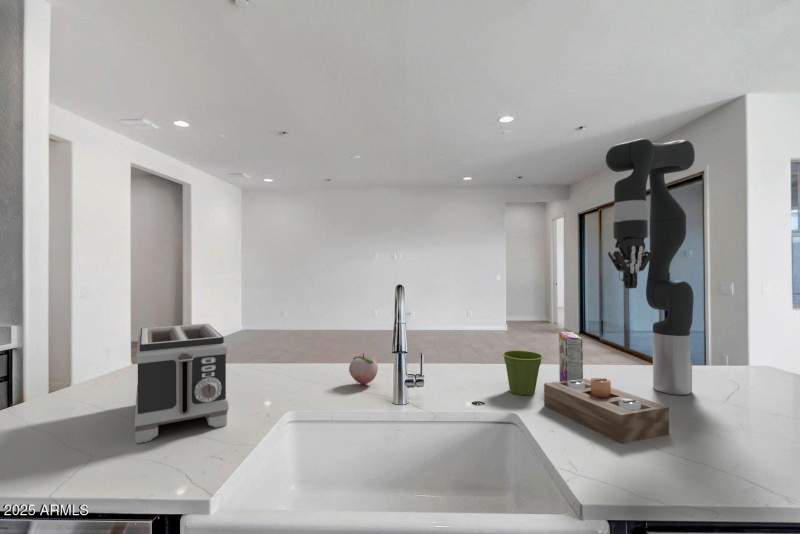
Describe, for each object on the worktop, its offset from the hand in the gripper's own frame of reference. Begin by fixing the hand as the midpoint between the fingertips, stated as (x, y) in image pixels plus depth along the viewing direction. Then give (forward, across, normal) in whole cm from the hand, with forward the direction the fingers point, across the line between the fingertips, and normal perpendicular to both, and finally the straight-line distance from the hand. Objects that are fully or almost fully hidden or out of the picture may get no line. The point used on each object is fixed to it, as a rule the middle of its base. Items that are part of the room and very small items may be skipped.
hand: (630, 288), depth 99 cm
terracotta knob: (+26, +10, 0) cm, 28 cm away
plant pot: (+32, +15, -24) cm, 43 cm away
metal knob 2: (+29, +10, +8) cm, 32 cm away
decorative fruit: (+32, +58, -47) cm, 81 cm away
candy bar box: (+32, -2, -23) cm, 40 cm away
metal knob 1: (+29, +10, -8) cm, 32 cm away
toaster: (+32, +108, -36) cm, 118 cm away
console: (+32, +10, 0) cm, 33 cm away
